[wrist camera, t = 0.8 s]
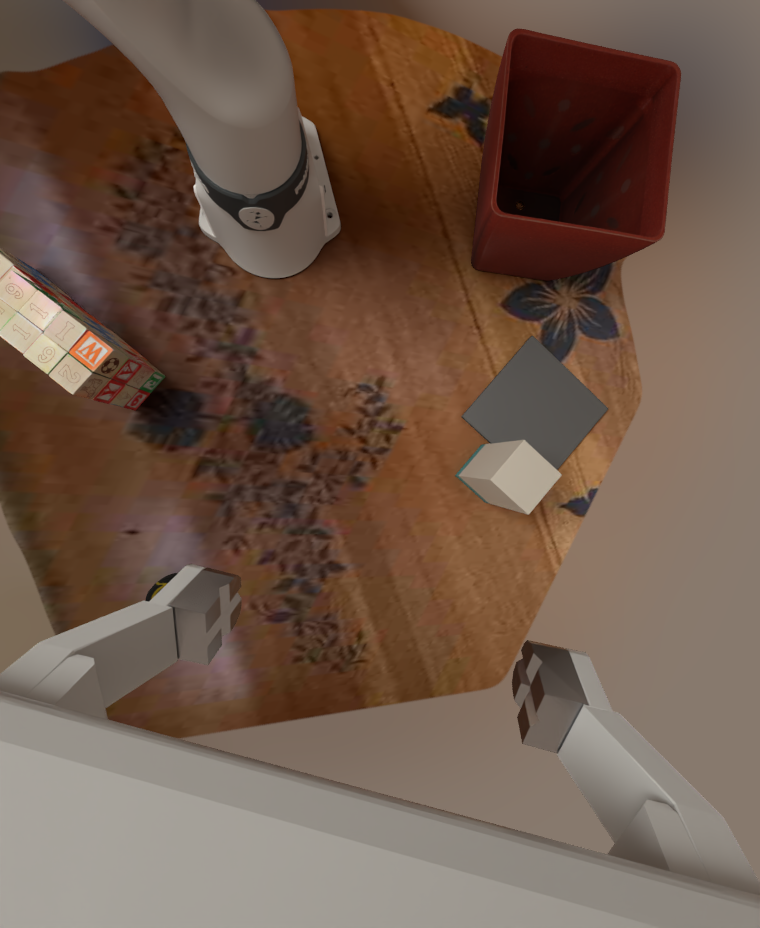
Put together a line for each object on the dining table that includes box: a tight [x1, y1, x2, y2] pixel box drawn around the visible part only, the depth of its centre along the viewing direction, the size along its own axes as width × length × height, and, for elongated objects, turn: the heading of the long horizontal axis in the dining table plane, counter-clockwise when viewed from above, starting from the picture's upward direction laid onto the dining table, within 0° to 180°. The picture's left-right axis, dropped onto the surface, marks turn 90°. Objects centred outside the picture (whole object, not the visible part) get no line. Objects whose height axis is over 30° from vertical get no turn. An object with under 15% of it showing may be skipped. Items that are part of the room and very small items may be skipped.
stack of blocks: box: [0, 248, 165, 410], centre depth 44 cm, size 21×6×12 cm, turn 50°
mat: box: [461, 336, 608, 470], centre depth 56 cm, size 16×16×1 cm
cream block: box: [455, 440, 562, 515], centre depth 49 cm, size 6×6×13 cm
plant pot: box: [471, 29, 681, 281], centre depth 47 cm, size 19×19×17 cm
